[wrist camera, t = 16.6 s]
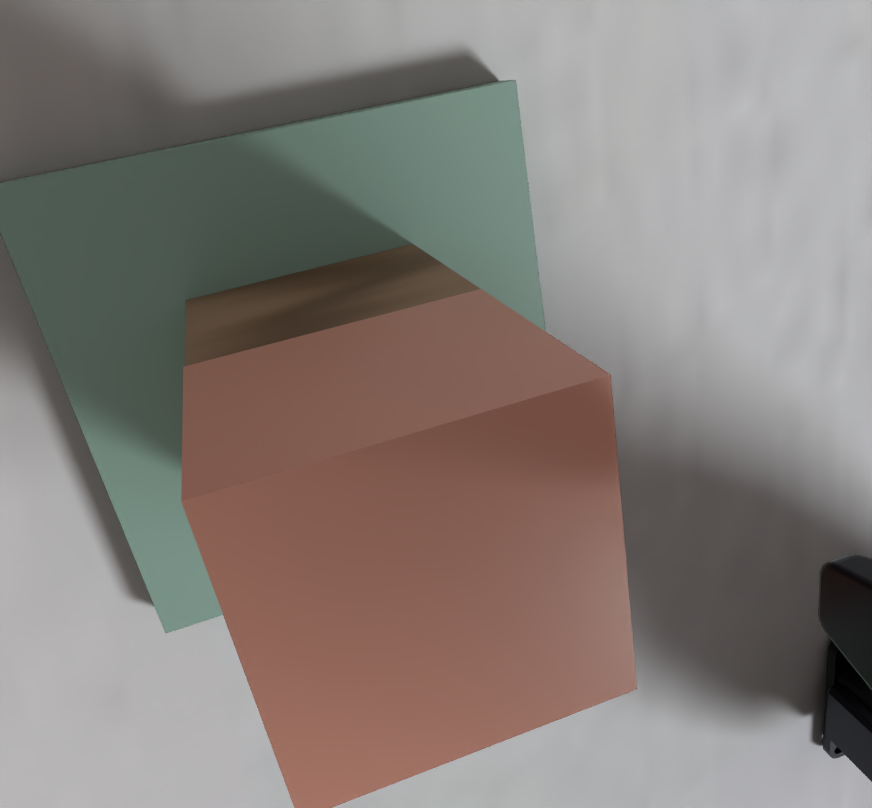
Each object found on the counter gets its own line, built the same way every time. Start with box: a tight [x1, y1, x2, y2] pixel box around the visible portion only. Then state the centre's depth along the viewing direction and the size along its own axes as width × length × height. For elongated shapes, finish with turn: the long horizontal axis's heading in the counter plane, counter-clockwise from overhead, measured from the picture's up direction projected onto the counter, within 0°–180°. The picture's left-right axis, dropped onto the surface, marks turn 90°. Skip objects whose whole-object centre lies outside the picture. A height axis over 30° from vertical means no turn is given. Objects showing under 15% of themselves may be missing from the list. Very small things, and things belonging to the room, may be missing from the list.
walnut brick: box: [185, 244, 480, 366], centre depth 17 cm, size 6×6×5 cm
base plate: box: [0, 80, 546, 633], centre depth 20 cm, size 12×12×1 cm
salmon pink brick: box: [181, 289, 637, 808], centre depth 13 cm, size 6×6×5 cm
